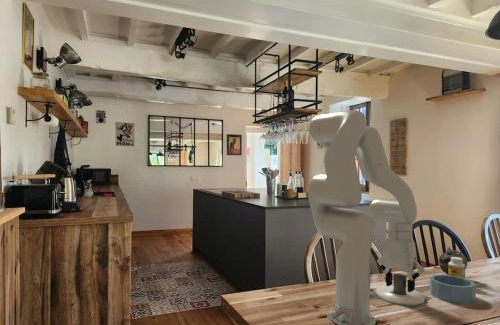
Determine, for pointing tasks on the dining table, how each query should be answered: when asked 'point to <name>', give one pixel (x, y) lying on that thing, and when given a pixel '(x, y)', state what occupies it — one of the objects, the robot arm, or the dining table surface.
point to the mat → (402, 305)
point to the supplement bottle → (456, 267)
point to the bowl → (453, 289)
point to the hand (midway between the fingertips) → (399, 287)
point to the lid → (400, 292)
